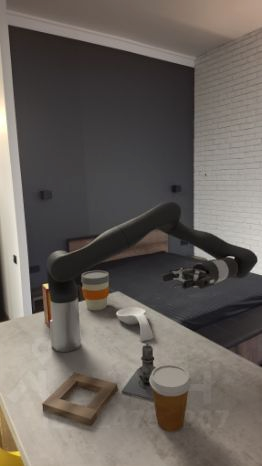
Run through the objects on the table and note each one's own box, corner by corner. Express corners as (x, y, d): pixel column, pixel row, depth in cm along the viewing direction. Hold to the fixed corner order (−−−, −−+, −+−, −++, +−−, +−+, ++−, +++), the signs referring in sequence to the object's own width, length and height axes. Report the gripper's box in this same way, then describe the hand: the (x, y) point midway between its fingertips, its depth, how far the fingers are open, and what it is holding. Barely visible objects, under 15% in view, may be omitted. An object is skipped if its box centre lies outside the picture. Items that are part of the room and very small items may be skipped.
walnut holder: (42, 410, 80) (42, 403, 80) (74, 378, 93) (74, 372, 93) (91, 426, 75) (90, 418, 74) (117, 390, 87) (117, 383, 87)
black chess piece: (157, 390, 86) (156, 349, 84) (135, 388, 87) (134, 347, 85) (160, 377, 91) (159, 338, 89) (139, 375, 92) (138, 336, 90)
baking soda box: (48, 327, 126) (45, 288, 124) (44, 321, 132) (41, 283, 129) (72, 321, 131) (69, 283, 128) (67, 315, 136) (64, 279, 134)
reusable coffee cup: (99, 314, 137) (97, 280, 135) (76, 308, 144) (75, 276, 141) (116, 304, 147) (114, 272, 145) (94, 299, 154) (92, 269, 152)
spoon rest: (113, 317, 134) (112, 301, 132) (139, 313, 137) (139, 297, 136) (132, 344, 112) (131, 325, 110) (163, 338, 115) (162, 319, 114)
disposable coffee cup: (147, 409, 80) (146, 364, 78) (185, 405, 81) (185, 361, 79) (153, 439, 71) (152, 390, 69) (196, 435, 71) (196, 386, 69)
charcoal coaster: (121, 392, 86) (121, 390, 86) (137, 370, 96) (137, 368, 96) (160, 403, 82) (160, 401, 82) (173, 378, 92) (173, 376, 92)
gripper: (194, 256, 109) (157, 264, 100) (228, 265, 97) (190, 274, 88) (194, 277, 110) (157, 287, 101) (228, 288, 99) (190, 300, 90)
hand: (172, 281), depth 95 cm, fingers open, 8 cm apart
